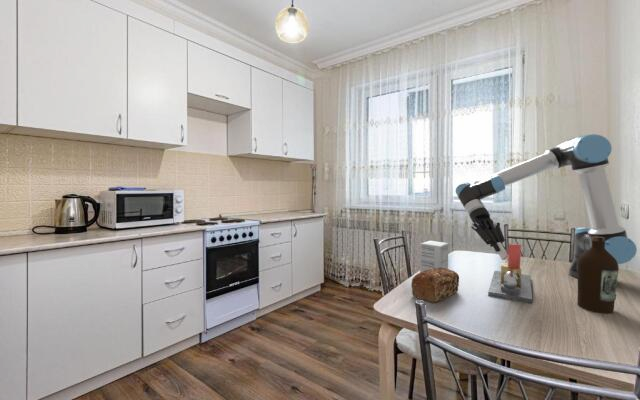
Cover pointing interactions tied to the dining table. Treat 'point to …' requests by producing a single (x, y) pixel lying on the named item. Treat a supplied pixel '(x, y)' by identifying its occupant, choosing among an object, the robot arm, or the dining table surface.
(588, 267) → the olive oil
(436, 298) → the bread
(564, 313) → the dining table surface
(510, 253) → the lever
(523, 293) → the valve pipe
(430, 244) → the supplement box
